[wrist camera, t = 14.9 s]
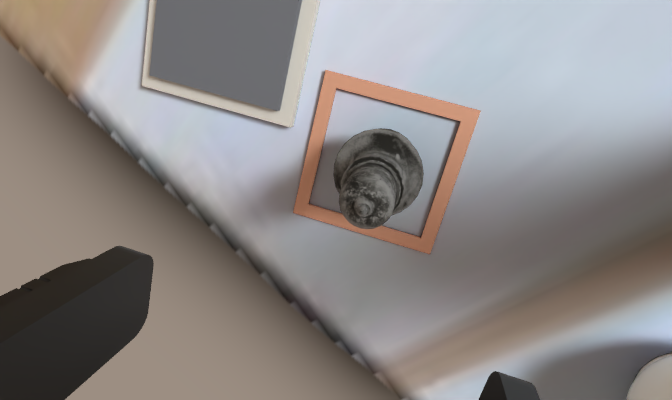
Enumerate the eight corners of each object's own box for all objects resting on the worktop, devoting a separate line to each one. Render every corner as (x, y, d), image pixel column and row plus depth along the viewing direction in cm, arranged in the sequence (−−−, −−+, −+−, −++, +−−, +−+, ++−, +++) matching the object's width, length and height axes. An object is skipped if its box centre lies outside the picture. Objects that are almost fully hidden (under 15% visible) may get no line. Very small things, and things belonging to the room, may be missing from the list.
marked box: (479, 110, 28) (480, 110, 27) (429, 252, 31) (429, 254, 31) (326, 70, 29) (325, 70, 28) (294, 211, 32) (293, 212, 32)
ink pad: (331, -52, 27) (326, -60, 25) (293, 126, 30) (287, 128, 29) (165, -90, 28) (152, -100, 26) (148, 85, 31) (135, 85, 30)
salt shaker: (355, 211, 31) (322, 282, 20) (332, 138, 30) (282, 169, 19) (431, 191, 30) (443, 256, 18) (409, 113, 28) (407, 130, 17)
